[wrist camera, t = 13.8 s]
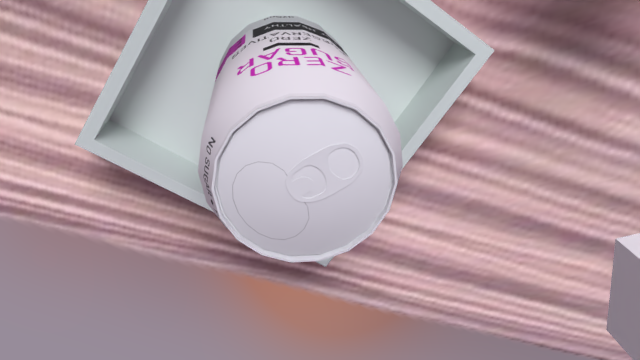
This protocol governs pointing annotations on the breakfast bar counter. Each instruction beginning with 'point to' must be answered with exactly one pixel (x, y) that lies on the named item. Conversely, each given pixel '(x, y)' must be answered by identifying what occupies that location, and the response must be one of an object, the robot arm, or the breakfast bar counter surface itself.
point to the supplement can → (296, 144)
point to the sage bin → (211, 43)
